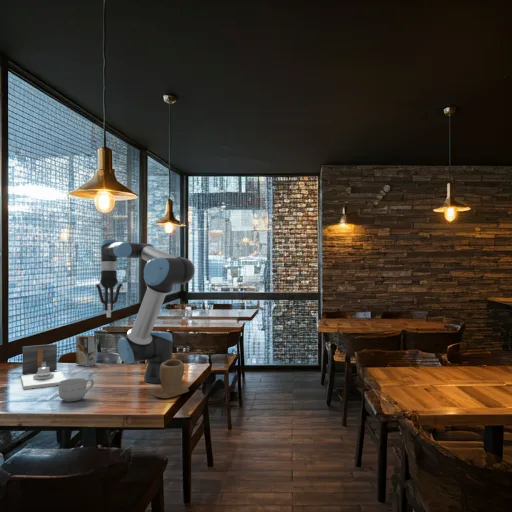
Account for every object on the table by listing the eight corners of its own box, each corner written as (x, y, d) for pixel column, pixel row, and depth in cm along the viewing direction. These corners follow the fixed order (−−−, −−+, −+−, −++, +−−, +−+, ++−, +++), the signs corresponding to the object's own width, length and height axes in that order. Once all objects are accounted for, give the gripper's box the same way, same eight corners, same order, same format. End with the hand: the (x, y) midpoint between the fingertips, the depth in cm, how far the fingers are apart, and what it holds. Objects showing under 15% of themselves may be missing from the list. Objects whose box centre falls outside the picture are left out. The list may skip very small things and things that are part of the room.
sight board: (56, 371, 238) (57, 344, 239) (22, 374, 230) (22, 347, 231) (56, 370, 240) (56, 343, 240) (22, 374, 232) (22, 346, 232)
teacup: (59, 405, 178) (59, 384, 178) (57, 398, 188) (57, 378, 188) (96, 400, 185) (96, 380, 185) (92, 394, 194) (92, 375, 194)
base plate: (67, 384, 210) (67, 380, 211) (23, 389, 202) (23, 385, 202) (60, 373, 232) (60, 370, 232) (21, 378, 223) (21, 374, 223)
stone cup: (167, 402, 181) (168, 364, 182) (149, 397, 189) (149, 361, 189) (196, 394, 193) (196, 358, 193) (177, 389, 200) (177, 355, 201)
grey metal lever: (54, 378, 215) (54, 368, 215) (32, 380, 212) (32, 370, 212) (53, 370, 232) (53, 361, 233) (34, 372, 229) (34, 362, 229)
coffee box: (96, 364, 256) (96, 335, 256) (88, 366, 250) (88, 337, 250) (83, 363, 259) (83, 334, 260) (75, 365, 253) (75, 336, 254)
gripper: (96, 270, 222) (96, 318, 221) (123, 269, 228) (123, 317, 227) (94, 270, 228) (93, 317, 227) (120, 269, 235) (120, 315, 234)
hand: (108, 317), depth 227 cm, fingers closed
